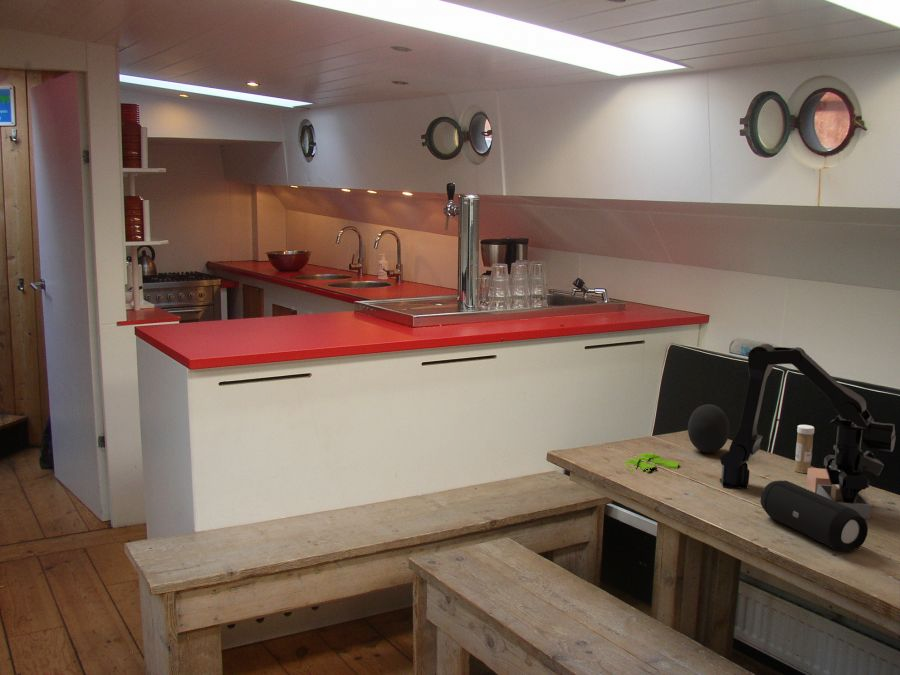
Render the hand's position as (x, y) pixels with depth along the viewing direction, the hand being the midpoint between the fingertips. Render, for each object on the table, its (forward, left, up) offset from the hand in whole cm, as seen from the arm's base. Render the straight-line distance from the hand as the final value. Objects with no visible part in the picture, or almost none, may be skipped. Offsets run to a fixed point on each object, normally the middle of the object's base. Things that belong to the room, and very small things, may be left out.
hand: (842, 503), depth 229 cm
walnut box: (0, 0, -1) cm, 1 cm away
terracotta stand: (0, +14, -1) cm, 14 cm away
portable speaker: (-13, -21, -2) cm, 24 cm away
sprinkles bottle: (-3, +30, -1) cm, 30 cm away
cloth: (-46, +26, -2) cm, 53 cm away
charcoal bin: (0, 0, -1) cm, 1 cm away
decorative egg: (-28, +44, -1) cm, 52 cm away
